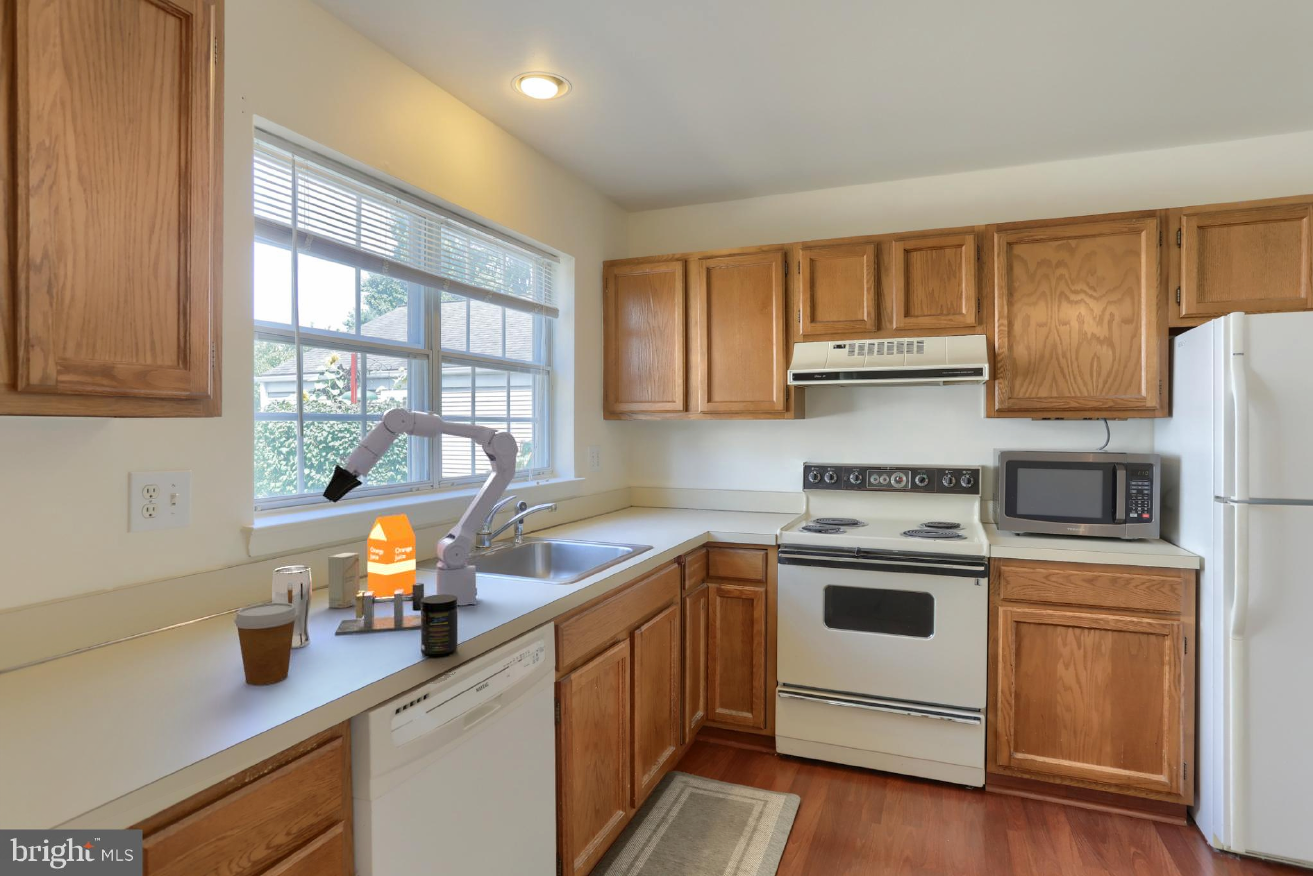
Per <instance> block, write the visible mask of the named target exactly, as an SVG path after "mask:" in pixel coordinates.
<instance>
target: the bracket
mask: <svg viewBox="0 0 1313 876" xmlns="http://www.w3.org/2000/svg"><path fill="white" fill-rule="evenodd" d="M402 596H404V595H403V589H398V590H395V593H394V602H393V616H386V617H385V616H384V617H382V616H381V617H375V604H373V598H375V596H374V591H368V590H365V594H364V615H363V618H357V619H356V618H355V619H343V620H341V622H340V624H339V625H338V627H337V629H336V630H335V632H334V636H339V635H340V636H341V635H343V636H344V635H354V634H353V633H356V634H367V633H379V632H381V631H383V632H392V631H407V630H406V629H409V630H421V614H414V615H413V614H412V615H404V602H402Z"/></svg>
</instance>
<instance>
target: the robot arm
mask: <svg viewBox="0 0 1313 876" xmlns="http://www.w3.org/2000/svg"><path fill="white" fill-rule="evenodd" d="M404 433H405V434H407V435H408V436H415V437H423V438H429V439H430V438H431V439H436V438H437V437H439V436H440V435H441V434H442V435H448V436H454V437H459V438H467V439H470V440H472V441H473V442H475V443H476V444H477V446H481V449H482V451H483V453H484V454H485V455H486V457H487V458H488V460H489V463H490V466H491V471H492V472H491V474H490V475H489V477H487V479H486V481H485V482H484V484H483V485H482V487H481V488H480V490H479V491H478V493H477V495H475V497H474V499H473V500H472V502H471V503H470V505H469V506H468V508H467V509H466V510H465V512H464V513H463V516H462V517H461V518H460V520H459V521H458V523H457V524H456V525H454V526H453V527H452V528H451V529H450V530H449V532H448V533H447V534H446V535H445V536H443V537H442V538H440V539H439V540H438V541H437V542H436V544H435V547H434V553H435V555H436V558H437V559H439V560H438V562H437V564H436V595H441V594H448V595H455V596H457V597H458V605H459V606H468V605H467V604H474V605H476V604H477V596H478V588H477V587H476V586H477V585H476V584H477V582H476V581H477V572H476V571H477V570H476V569H477V568H476V565H474V564H473V565H468V560H469V558H470V552H471V549H472V547H473V546H474V544H475V537H476V535H477V533H478V532H479V530H480V529H481V527H482V526H483V524H484V523H485V521H486V519H487V518H488V516H489V515H490V514H491V512H492V510H493V509H494V507H495V506H496V504H497V502H498V501H499V500H500V498H501V497H502V495H503V493H504V492H505V491H506V489H507V488H508V486H509V485H510V484H511V482H512V481H513V479H514V477H515V475H516V467H517V466H516V465H517V456H518V455H517V454H518V452H519V447H518V444H517V441H516V439H515V437H514V435H513V434H511V433H509V432H507V431H500V430H498V429H495V428H492V427H488V426H485V425H478V424H477V425H476V424H467V423H461V422H452V421H451V422H450V421H444V420H443V419H442V418H441V416H440V415H438V414H435V412H434V411H432V410H431V411H430V410H427V412H422V411H415V410H412V408H409V407H408V408H406V409H405V408H396V407H395V408H389V409H388V410H386V411H385V412H382V414H381V416H380V418H379V421H378V422H377V423H376V424H375V425H374V427H373V428H371V429H370V430H369V432H367V434H366V435H365V436H364V437H363V439H362V440H361V441H360V442H359V443H358V444H357V445H356V447H355V448H354V449H353V450H352V451H351V452H350V453H349V455H348V456H347V457H346V458H345V457H344V456H342V455H341V456H340V457H339V459H340V460H341V461H342V462H343V464H345V465H344V467H342V466H340V465H339V464H336V465H335V467H334V471H333V474H332V477H331V479H330V481H329V483H328V485H327V486H326V488H325V490H324V492H323V494H322V497H324V498H325V499H326V500H328V501H329V502H333V503H335V504H336V503H337V502H338V501H340V500H341V499H342V498H343V497H344V496H346V495H347V494H348V493H350V492H351V491H352V490H354V489H356V488H357V487H359V486H362V485H363V482H362V481H361V480H360V479H359V478H360V477H361V476H362V477H364V478H367V477H368V474H369V473H370V472H371V471H372V469H373V468H374V467H375V466H376V465H377V464H378V462H380V460H381V458H382V457H383V456H384V455H385V454H386V453H387V452H388V450H389V449H390V448H391V447H392V445H393V444H394V442H395V441H396V440H397V438H398V437H399V436H400V435H401V434H404Z"/></svg>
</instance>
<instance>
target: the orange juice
mask: <svg viewBox="0 0 1313 876" xmlns="http://www.w3.org/2000/svg"><path fill="white" fill-rule="evenodd" d="M412 528H413V527H412V526H411V524H410V522H409V519H408V517H407V515H406V513H403V514H395V515H388V516H381V517H380V516H379V517H376V520H375V522H374V524H373V526H372V529H371V531H370V533H369V535H368V537H367V591H374V597H375V596H376V597H375V598H380V597H394V593H395V590H398V589H403V594H405V595H408V594H412V593H411V592H412V585H413V584H416V535H415V533H414V531H413V529H412Z"/></svg>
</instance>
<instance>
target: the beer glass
mask: <svg viewBox="0 0 1313 876" xmlns="http://www.w3.org/2000/svg"><path fill="white" fill-rule="evenodd" d="M311 569H312V568H311V567H310V566H309V565H293V566H292V565H291V566H283V567H279V568H275V569H273V570H272V571H273V572H272V585H271V586H272V587H271V595H272V596H271V597H272V603H290V604H293V605H294V606H295V609H296V611H297V612H298V615H297V616H296V619H295V622H294V631H293V639H292V647H291V650H295V649H299V648H304V647H307V646H308V645H309V644H310V642H311V639H310V634H309V629H308V627H309V626H308V624H309V622H308V621H309V617H310V616H309V615H310V609H311V604H312V603H311V602H312V594H313V583H312V582H313V581H312V572H311Z"/></svg>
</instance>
